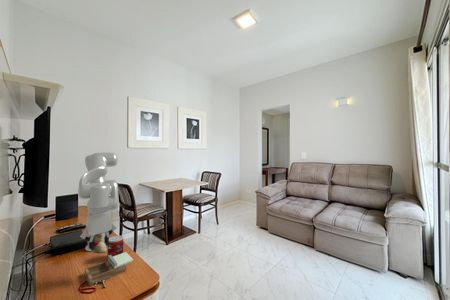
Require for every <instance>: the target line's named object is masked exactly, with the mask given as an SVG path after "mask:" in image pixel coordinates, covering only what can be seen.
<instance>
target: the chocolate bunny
mask: <svg viewBox="0 0 450 300" xmlns="http://www.w3.org/2000/svg"><path fill="white" fill-rule="evenodd" d="M102 236H103V234H102V233H101V234H97V235H95V236H94V237H93V242H94V250H92V251H91V252H93V253H94V254H104V253H106V252H107V253H108V246H106V244H105V243H104V242H102V241H101V238H102Z"/></svg>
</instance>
